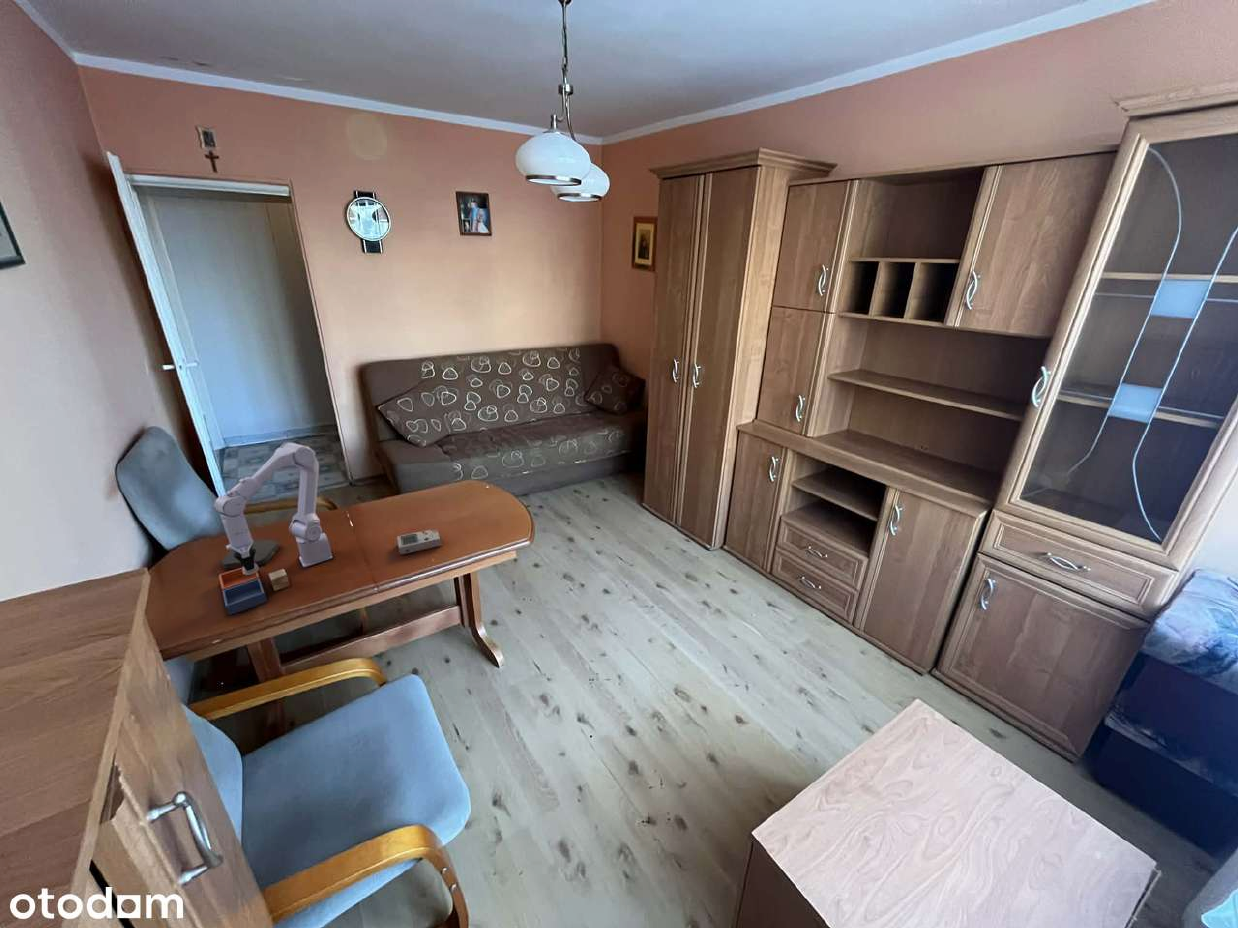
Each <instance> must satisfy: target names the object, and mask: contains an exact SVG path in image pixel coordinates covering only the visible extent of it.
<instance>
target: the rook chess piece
mask: <svg viewBox="0 0 1238 928" xmlns="http://www.w3.org/2000/svg"><path fill="white" fill-rule="evenodd" d="M259 570H260V567H259V566H258V565H257V564H255V563H254V569H252V570H248V571H247V570H246V569H245V568H244V566H243V568H242V571H243V574H245V575H251V574H254V573H256V572H258V571H259Z"/></svg>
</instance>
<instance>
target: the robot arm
mask: <svg viewBox="0 0 1238 928" xmlns="http://www.w3.org/2000/svg"><path fill="white" fill-rule="evenodd" d="M293 466H294V467H297V468H298V469H299V470H300V473H299V484H298V500H297V511H296V513H295V514H293V516H292V519H291V523H290V524H289V527H288V531H289V533H290V534H291V535H292V536H294V537H295V542H296V544H297V548H298V552H299V555H300V556H299V557H298V559H299V561H300V563H301V565H302V567H303V568H307V567H310V566H313V565H316V564H318V563H322V562H326V561H329V560H331V559H333V554H332V550H331V546H330V543H329V539H328V536H327V535H326V533H325V532H323V528H322V526H321V520H320V518H319V517H318V515H317V513H316V509H317V497H318V486H319V485H318V484H319V475H320V474H319V473H320V464H319V461H318V459H317V457H316V451H315V450H314V449H312V448H311V447H310V446H307V445H302V444H298V443H295V442H292V441H286V442H284V443H282V444H281V445H280V447H278V448H276V449H275V451H274V453H273V455H272V456H271V457H270V458H269V459H268V460H267V461H265V463H264V464H263V465H262V466H261V467H260V468H259V469H258V470H257V471H256V472H255V473H254V474H253V475H252V476H245V477H244V478H240V479H239V480H238V483H237V484H236V485H235V486H234V487H232V489H230V490H228V491H226V492H225V494H223V495H220V496H218V497H217V498H216V499H215V501H214V503H213V506H212V508H213V510H214V511H215V512H217V513H219V515H220V519H221V522H222V525H223V528H224V531H225V534H226V536H227V539H228V542H229V544H227V545H225V547H226V550H229V551H230V550H234V551H235V552H236V553H234V557H235V558H236V559H237V560H239V561H240V562H241V563H242V565H243V566H244V568H245V569H246V570H247V571H248V570H252V569H254V556H255V553H256V550H255V549H252V547H253V542H254V541H255V540H254V539H253V538H252V534H251V531H250V528H249V526H248V522H247V520H246V516H245V514H244V512H245V510H246V505H247V504H248V502H249V501H250V500H252V499H253V498H254V497H255V496H256V495H257V494H258V493H259V492H260V491H261V490H262V489H263V483H264V482H266V481H267V480H268V479H270V477H272V476H273V475H274V474H276V473H277V472H278V471H280V469H282V468H284V467H293Z"/></svg>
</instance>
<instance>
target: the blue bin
mask: <svg viewBox="0 0 1238 928" xmlns="http://www.w3.org/2000/svg"><path fill="white" fill-rule="evenodd" d="M221 592H222V598H223V600H224V605H225V609H226V611H227V613H228V616H231V615H234V614H237V613H239V612H242V611H245V610H248V609H250V608H251V609H252V608H254V607H256V606H259V605H262V604H264V603H268V601H269V600H268V599H267V595H266V593H265V589H264V586H263V584H262V581H261V578H260V577H259V579H256V580H253V581H250V582H247V583H244V584H241V585H237V586H234V587H231V588H228V589H225V590H222V589H221Z"/></svg>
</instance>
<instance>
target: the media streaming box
mask: <svg viewBox="0 0 1238 928" xmlns="http://www.w3.org/2000/svg"><path fill="white" fill-rule="evenodd" d="M253 541H254V542H253V547H252V549H255V550H256V553H255V556H254V563H255V564H257V565H258V567H259V566H262V565H264V564H265V563H267V562H268V561H270V559H272V557H273V556H274V554H275V553H276V552H277V551H278V549H279V545H278V542H277V541H276V540H269V539H265V540H264V539H263V540H262V539H261V540H253ZM234 553H236V552H235V551H234V550H232V549H229V551H228V552H227V553H226V554H225V555H224V557H223V558H222V560H221V564H222V566H223V568H224V569H227V570H228V569H239V568H242V567H243V565H242V563H241V562H240V561H239V560H237V559H236V558H235V557H234Z"/></svg>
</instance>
